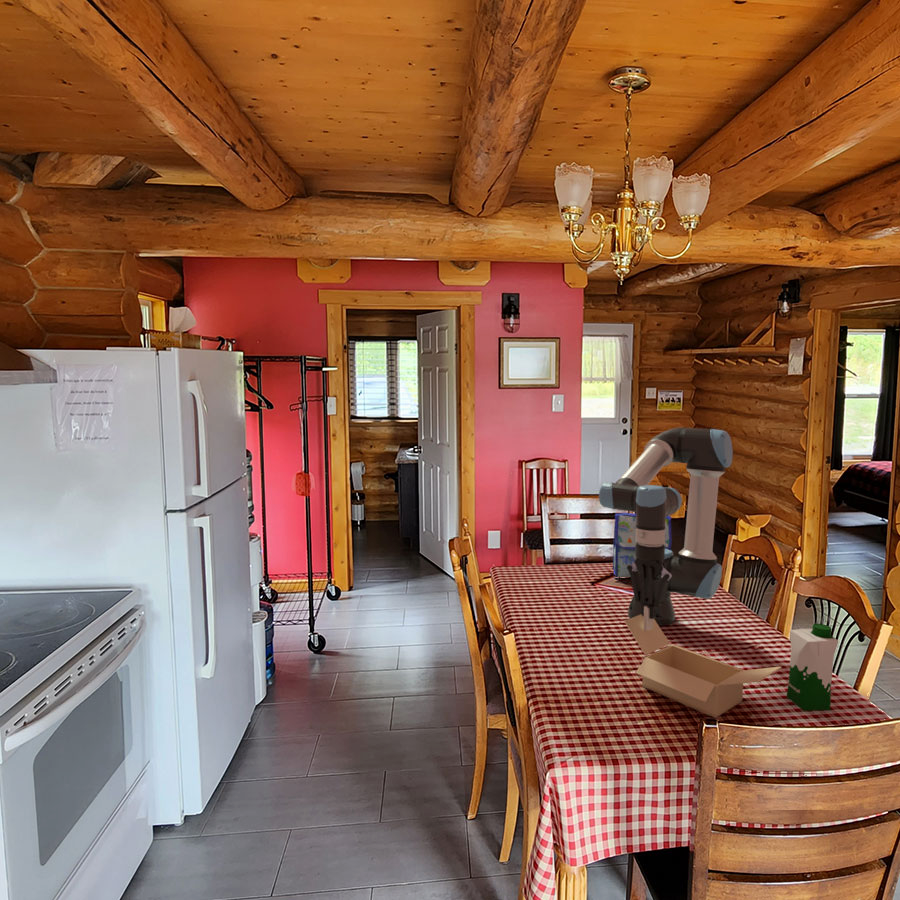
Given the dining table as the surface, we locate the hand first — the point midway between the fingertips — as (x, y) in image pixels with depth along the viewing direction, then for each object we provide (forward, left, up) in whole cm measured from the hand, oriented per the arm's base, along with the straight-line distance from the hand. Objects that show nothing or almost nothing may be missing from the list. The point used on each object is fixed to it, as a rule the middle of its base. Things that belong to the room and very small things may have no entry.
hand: (648, 629), depth 176 cm
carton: (+14, 0, -13) cm, 19 cm away
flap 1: (+4, 0, -5) cm, 6 cm away
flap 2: (+23, 0, -5) cm, 24 cm away
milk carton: (+35, +18, -13) cm, 41 cm away
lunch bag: (-52, +74, -13) cm, 91 cm away
